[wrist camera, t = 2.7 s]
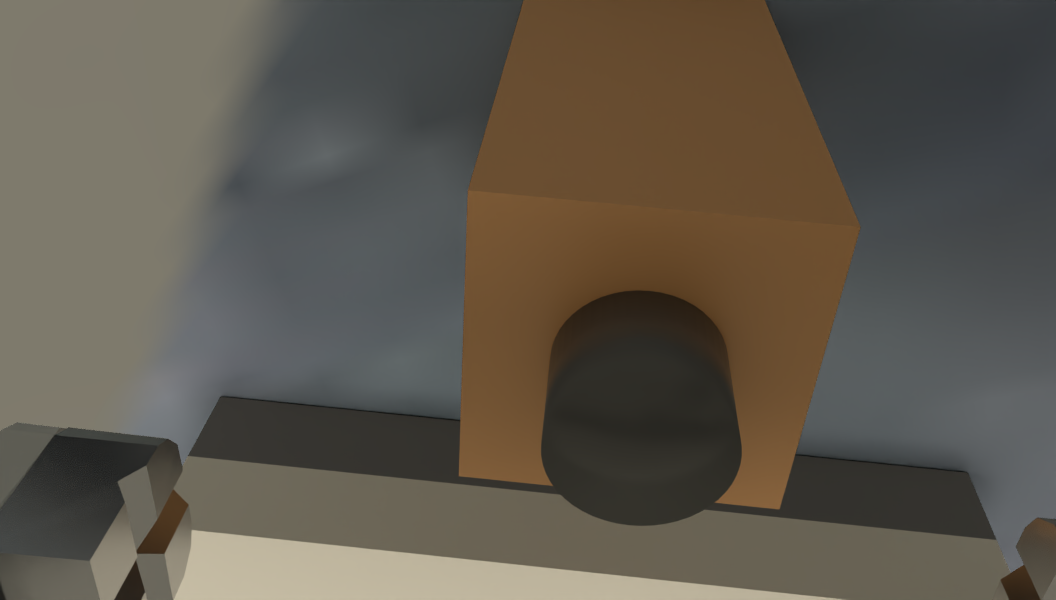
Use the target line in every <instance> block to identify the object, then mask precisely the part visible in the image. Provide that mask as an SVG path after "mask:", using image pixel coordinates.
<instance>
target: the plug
mask: <svg viewBox="0 0 1056 600" xmlns="http://www.w3.org/2000/svg"><path fill="white" fill-rule="evenodd" d="M860 228H861V227H860V224H859V222H858V220H857V217H856V215H855V213H854V210H853V208H852V205H851V203H850V201H849V198H848V196H847V194H846V191H845V189H844V187H843V184H842V182H841V179H840V177H839V175H838V172H837V170H836V168H835V165H834V163H833V161H832V158H831V156H830V153H829V151H828V149H827V146H826V144H825V142H824V139H823V137H822V135H821V132H820V130H819V127H818V125H817V123H816V120H815V118H814V116H813V113H812V111H811V109H810V106H809V104H808V101H807V99H806V97H805V94H804V92H803V90H802V87H801V85H800V83H799V80H798V78H797V75H796V73H795V71H794V68H793V66H792V64H791V61H790V59H789V57H788V54H787V52H786V49H785V47H784V45H783V42H782V40H781V38H780V35H779V33H778V31H777V28H776V26H775V23H774V21H773V19H772V16H771V14H770V12H769V9H768V7H767V4H766V2H765V0H524V1H523V4H522V8H521V11H520V14H519V18H518V21H517V25H516V28H515V32H514V35H513V38H512V42H511V45H510V49H509V52H508V55H507V59H506V62H505V66H504V69H503V72H502V76H501V79H500V83H499V86H498V89H497V93H496V96H495V100H494V103H493V106H492V110H491V113H490V117H489V120H488V123H487V127H486V130H485V134H484V137H483V140H482V144H481V147H480V151H479V154H478V157H477V161H476V164H475V168H474V171H473V174H472V178H471V181H470V185H469V188H468V202H467V233H466V264H465V295H464V327H463V358H462V389H461V420H460V452H459V476H462V477H472V478H482V479H491V480H501V481H511V482H520V483H530V484H540V485H549V486H554V488H555V489H556V490H557V491H558V492H559V494H560V495H561V496H562V497H563V498H564V499H566V500H567V501H568V502H569V503H571V504H572V505H573V506H575V507H577V508H578V509H580V510H581V511H583V512H585V513H587V514H589V515H591V516H594V517H596V518H599V519H602V520H605V521H609V522H613V523H617V524H624V525H634V526H652V525H661V524H667V523H672V522H676V521H679V520H682V519H685V518H688V517H691V516H693V515H695V514H697V513H700V512H701V511H703V510H705V509H706V508H708V507H710V506H711V505H712V504H713V503H723V504H732V505H742V506H751V507H761V508H771V509H780V506H781V502H782V499H783V495H784V492H785V488H786V485H787V481H788V478H789V474H790V471H791V467H792V464H793V460H794V457H795V454H796V450H797V447H798V443H799V440H800V436H801V433H802V429H803V426H804V422H805V419H806V415H807V412H808V408H809V405H810V401H811V398H812V394H813V391H814V388H815V384H816V381H817V377H818V374H819V370H820V367H821V363H822V360H823V356H824V353H825V349H826V346H827V342H828V339H829V335H830V332H831V328H832V325H833V322H834V318H835V315H836V311H837V308H838V304H839V301H840V297H841V294H842V290H843V287H844V283H845V280H846V276H847V273H848V269H849V266H850V262H851V259H852V256H853V252H854V249H855V245H856V242H857V238H858V235H859V231H860Z"/></svg>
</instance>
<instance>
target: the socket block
mask: <svg viewBox="0 0 1056 600" xmlns="http://www.w3.org/2000/svg"><path fill="white" fill-rule="evenodd" d="M459 452H460V421H454V420H444V419H434V418H424V417H414V416H405V415H395V414H385V413H375V412H365V411H355V410H346V409H336V408H326V407H316V406H306V405H296V404H287V403H277V402H267V401H257V400H247V399H238V398H228V397H220V399H219V400H218V402H217V404H216V406H215V408H214V410H213V411H212V413H211V415H210V417H209V419H208V420H207V422H206V424H205V426H204V428H203V430H202V431H201V433H200V435H199V437H198V439H197V441H196V442H195V444H194V446H193V448H192V450H191V451H190V453H189V455H188V457H187V459H186V461H185V462H184V464H183V466H182V468H183V471H182V473H181V475H180V477H179V479H178V481H177V483H176V485H175V487H174V490H175V491H176V492H177V493H178V494H179V495H180V496H181V497H182V498H183V499H184V500H185V501H186V502H187V503H188V504H189V509H190V516H191V522H192V531H191V549H190V553H189V558H188V562H187V566H186V570H185V575H184V578H183V580H182V582H181V584H180V587H179V589H178V591H177V593H176V596H175V598H174V600H992V599H993V596H994V594H995V591H996V589H997V587H998V584H999V582H1000V580H1001V579H1002V578H1004V577H1005V576H1007V575H1008V574H1010V571H1009V568H1008V566H1007V563H1006V561H1005V559H1004V556H1003V554H1002V552H1001V549H1000V547H999V545H998V542H997V540H996V538H995V535H994V533H993V531H992V528H991V526H990V524H989V521H988V519H987V517H986V514H985V512H984V510H983V507H982V505H981V503H980V500H979V498H978V496H977V493H976V491H975V489H974V486H973V484H972V482H971V479H970V477H969V475H968V473H965V472H955V471H945V470H935V469H925V468H915V467H906V466H896V465H886V464H876V463H866V462H857V461H847V460H837V459H827V458H817V457H807V456H798V455H795V457H794V460H793V464H792V467H791V471H790V474H789V478H788V481H787V485H786V488H785V492H784V495H783V499H782V502H781V506H780V509H771V508H761V507H751V506H742V505H732V504H723V503H713V504H712V505H711V506H710V507H708V508H706V509H705V510H703V511H701V512H700V513H697V514H695V515H693V516H691V517H688V518H685V519H682V520H679V521H676V522H672V523H667V524H661V525H652V526H634V525H624V524H617V523H613V522H609V521H605V520H602V519H599V518H596V517H594V516H591V515H589V514H587V513H585V512H583V511H581V510H580V509H578V508H577V507H575V506H573V505H572V504H571V503H569V502H568V501H567V500H566V499H564V498H563V497H562V496H561V495H560V494H559V492H558V491H557V490H556V489H555V488H554V486H549V485H540V484H530V483H520V482H511V481H501V480H491V479H482V478H472V477H462V476H459Z"/></svg>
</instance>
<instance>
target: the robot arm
mask: <svg viewBox="0 0 1056 600" xmlns="http://www.w3.org/2000/svg"><path fill="white" fill-rule="evenodd" d="M182 471H183V468H182V464H181V459H180V455H179V450H178V445H177V444H176V443H174V442H172V441H171V440H169V439H165V438H156V437H147V436H139V435H130V434H121V433H112V432H104V431H95V430H86V429H78V428H67V429H65V428H58V427H50V426H42V425H33V424H24V423H15V424H13V425H11V426H9V427H7V428H4V429H3V430H1V431H0V600H174V598H175V596H176V593H177V591H178V589H179V587H180V584H181V582H182V580H183V578H184V575H185V570H186V566H187V562H188V558H189V553H190V549H191V531H192V522H191V516H190V509H189V504H188V503H187V502H186V501H185V500H184V499H183V498H182V497H181V496H180V495H179V494H178V493H177V492H176V491H175V490H174V487H175V485H176V483H177V481H178V479H179V477H180V475H181V473H182ZM1016 548H1017V550H1018V552H1019V555H1020V557H1021V559H1022V561H1023V563H1024V565H1023V566H1021V567H1020V568H1018V569H1016V570H1015V571H1013V572H1012V573H1010V574H1008V575H1007V576H1005V577H1004V578H1002V579H1001V580H1000V582H999V584H998V587H997V589H996V591H995V594H994V596H993V599H992V600H1056V519H1048V518H1036V519H1035V520H1034V521H1033V522H1031V523H1030V524H1029V525H1028V526H1027V527H1025V529H1024V531H1023V533H1022V535H1021V537H1020V539H1019V541H1018V543H1017V545H1016Z"/></svg>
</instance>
